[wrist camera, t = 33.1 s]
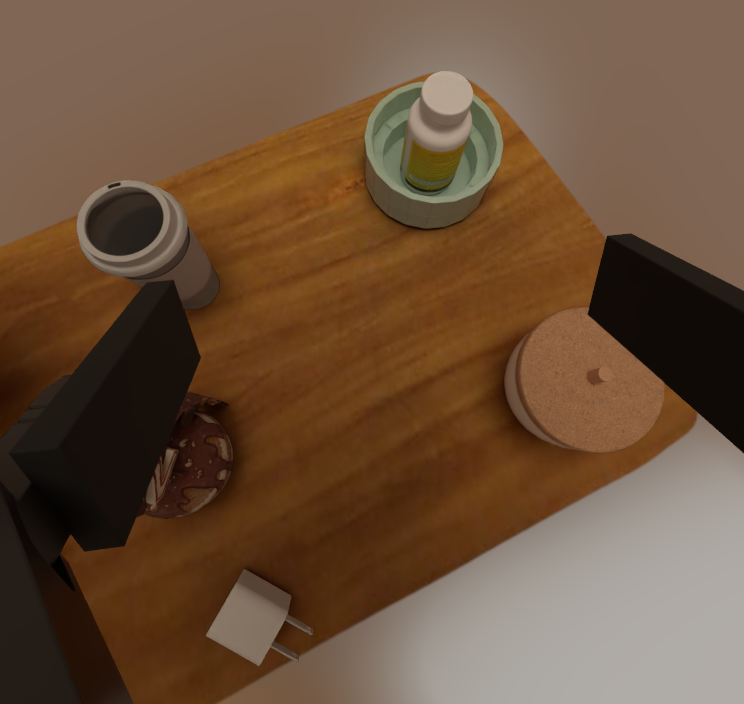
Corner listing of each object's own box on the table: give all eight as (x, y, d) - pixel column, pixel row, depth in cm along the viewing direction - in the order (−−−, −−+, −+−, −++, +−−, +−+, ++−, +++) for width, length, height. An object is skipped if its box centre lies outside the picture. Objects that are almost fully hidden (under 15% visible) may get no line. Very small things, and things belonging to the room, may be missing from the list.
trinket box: (500, 318, 39) (544, 282, 30) (613, 349, 39) (691, 321, 30) (476, 431, 37) (514, 429, 28) (595, 464, 37) (673, 473, 28)
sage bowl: (371, 236, 41) (373, 208, 36) (358, 126, 43) (358, 86, 38) (495, 225, 41) (513, 196, 36) (475, 117, 44) (490, 76, 39)
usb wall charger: (203, 639, 29) (217, 613, 33) (289, 688, 30) (293, 657, 33) (235, 585, 30) (245, 565, 34) (319, 633, 30) (319, 608, 34)
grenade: (173, 385, 37) (52, 350, 23) (262, 410, 37) (198, 391, 22) (132, 493, 35) (-29, 532, 21) (225, 521, 35) (129, 579, 20)
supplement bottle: (462, 187, 42) (493, 112, 32) (410, 203, 41) (426, 132, 31) (442, 141, 43) (466, 55, 33) (391, 156, 42) (401, 73, 32)
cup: (221, 242, 40) (164, 161, 28) (241, 306, 39) (190, 248, 27) (147, 265, 39) (57, 192, 28) (165, 331, 38) (79, 283, 26)
